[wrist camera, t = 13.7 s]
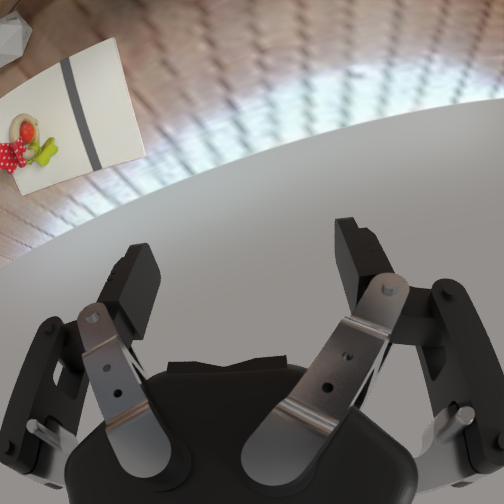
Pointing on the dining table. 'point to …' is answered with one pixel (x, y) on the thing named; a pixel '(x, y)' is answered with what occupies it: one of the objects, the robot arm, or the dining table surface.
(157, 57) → the dining table surface
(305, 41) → the dining table surface
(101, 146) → the mat
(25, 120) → the bird rattle
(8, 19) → the die
